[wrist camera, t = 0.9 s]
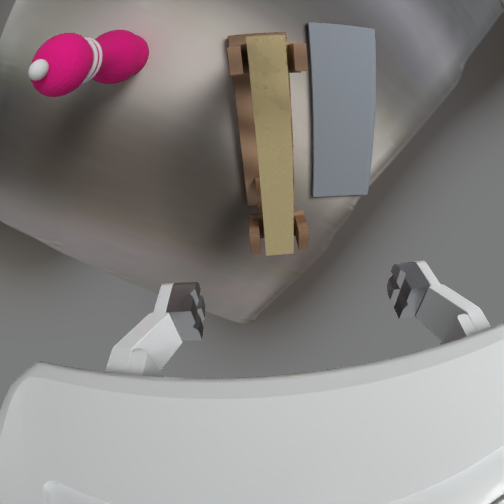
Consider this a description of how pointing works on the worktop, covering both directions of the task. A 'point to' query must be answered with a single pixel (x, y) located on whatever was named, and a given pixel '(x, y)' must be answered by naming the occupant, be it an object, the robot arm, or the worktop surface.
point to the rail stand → (248, 136)
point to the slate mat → (342, 107)
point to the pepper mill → (86, 61)
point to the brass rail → (273, 138)
